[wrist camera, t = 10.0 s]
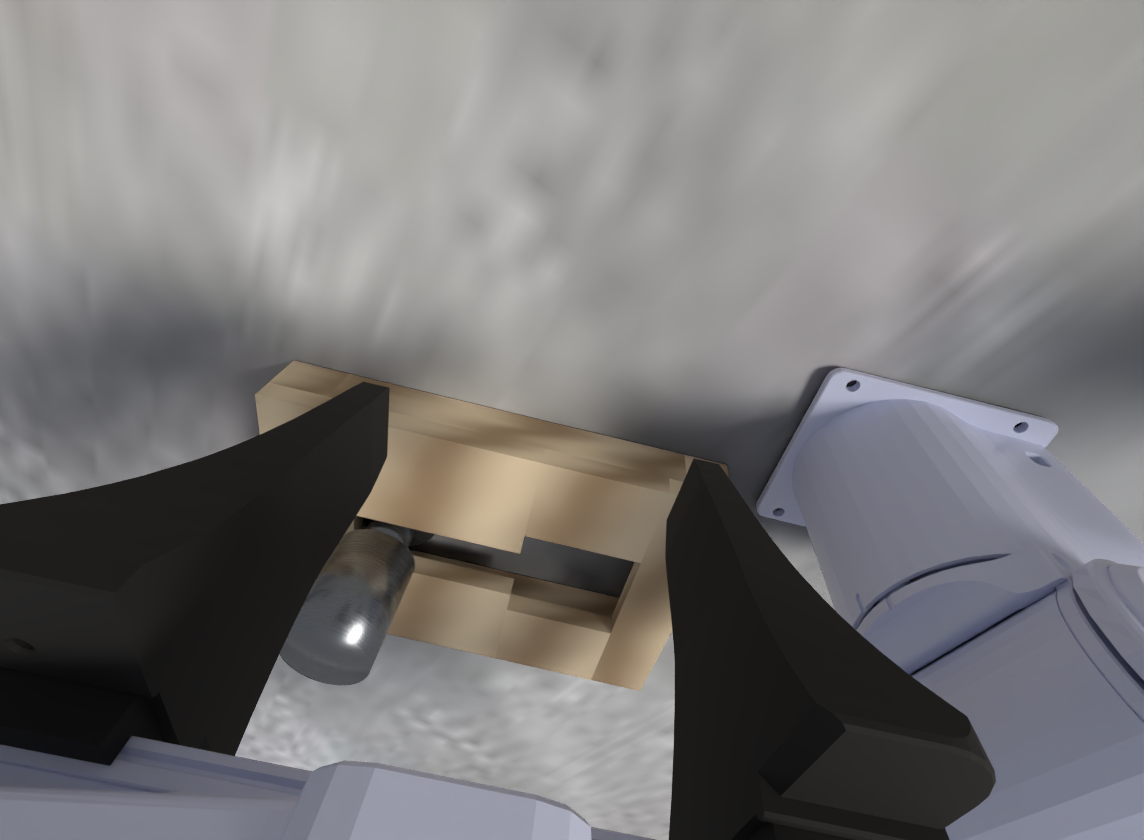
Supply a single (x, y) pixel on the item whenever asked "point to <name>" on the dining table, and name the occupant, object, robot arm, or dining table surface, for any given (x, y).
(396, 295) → the dining table surface
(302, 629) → the key peg
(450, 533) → the keyhole plate
